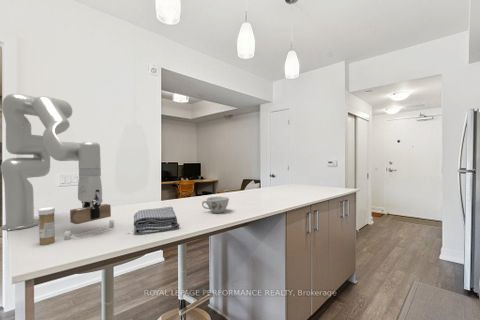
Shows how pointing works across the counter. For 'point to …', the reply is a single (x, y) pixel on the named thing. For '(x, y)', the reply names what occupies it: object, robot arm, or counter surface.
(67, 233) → the panel
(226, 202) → the teacup
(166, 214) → the towel
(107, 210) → the frame
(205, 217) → the counter surface
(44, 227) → the pill bottle
